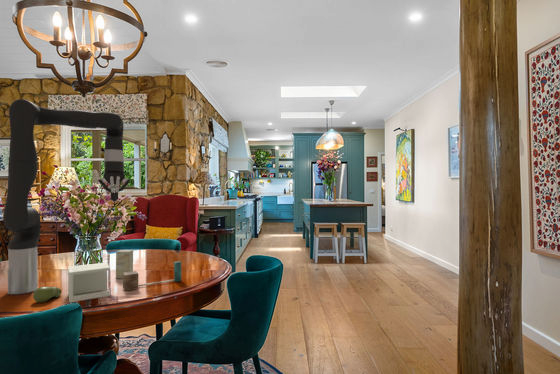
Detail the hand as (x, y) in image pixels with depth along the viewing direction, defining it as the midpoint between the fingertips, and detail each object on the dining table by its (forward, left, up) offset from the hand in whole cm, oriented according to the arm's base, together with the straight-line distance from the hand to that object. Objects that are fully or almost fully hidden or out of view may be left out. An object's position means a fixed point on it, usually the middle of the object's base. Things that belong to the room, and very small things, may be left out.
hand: (114, 201), depth 146 cm
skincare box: (+5, +8, -35) cm, 36 cm away
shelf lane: (-10, -13, -35) cm, 39 cm away
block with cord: (+13, -13, -35) cm, 39 cm away
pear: (-24, -10, -35) cm, 44 cm away
